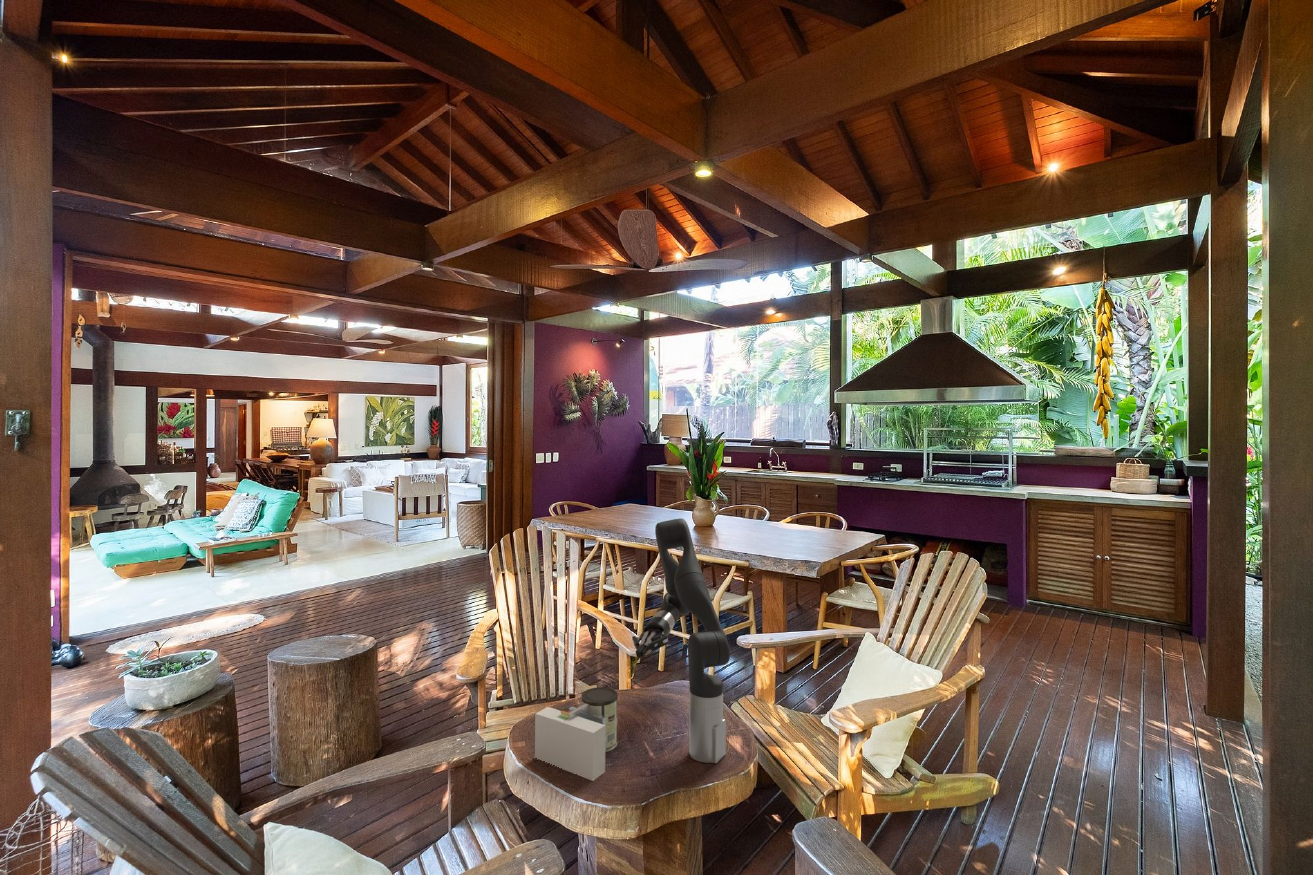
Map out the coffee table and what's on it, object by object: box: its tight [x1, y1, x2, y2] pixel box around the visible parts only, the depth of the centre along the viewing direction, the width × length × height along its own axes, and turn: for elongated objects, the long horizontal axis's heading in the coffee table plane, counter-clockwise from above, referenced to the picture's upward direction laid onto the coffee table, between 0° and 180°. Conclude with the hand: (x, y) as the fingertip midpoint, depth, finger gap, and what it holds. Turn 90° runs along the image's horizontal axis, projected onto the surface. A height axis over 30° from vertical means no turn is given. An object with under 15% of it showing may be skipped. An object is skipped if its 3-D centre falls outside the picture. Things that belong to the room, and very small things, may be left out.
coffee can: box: [580, 686, 619, 753], centre depth 167 cm, size 10×10×14 cm
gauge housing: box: [534, 706, 606, 782], centre depth 156 cm, size 20×5×12 cm, turn 58°
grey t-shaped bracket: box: [560, 703, 606, 751], centre depth 159 cm, size 12×8×11 cm, turn 58°
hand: (638, 655), depth 178 cm, fingers closed
